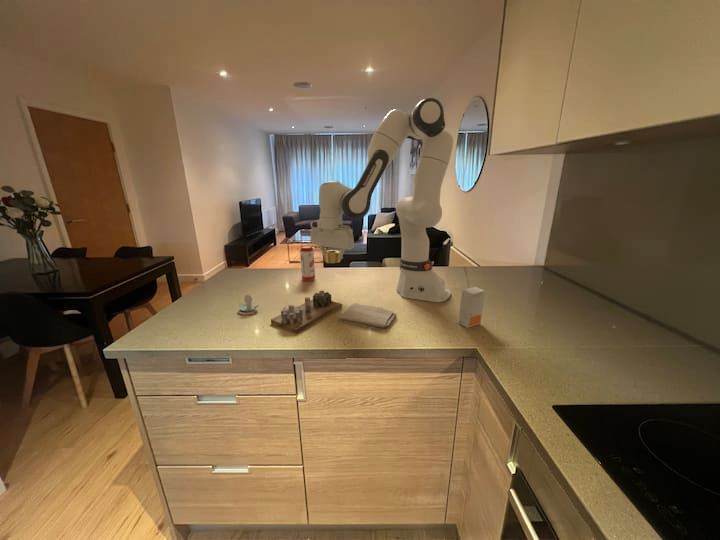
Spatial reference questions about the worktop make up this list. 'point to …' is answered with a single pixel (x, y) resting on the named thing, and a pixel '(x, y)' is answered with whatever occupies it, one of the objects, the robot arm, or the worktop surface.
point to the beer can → (307, 263)
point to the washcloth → (368, 316)
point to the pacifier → (247, 306)
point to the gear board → (306, 312)
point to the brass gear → (331, 256)
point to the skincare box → (471, 307)
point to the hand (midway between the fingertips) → (332, 257)
